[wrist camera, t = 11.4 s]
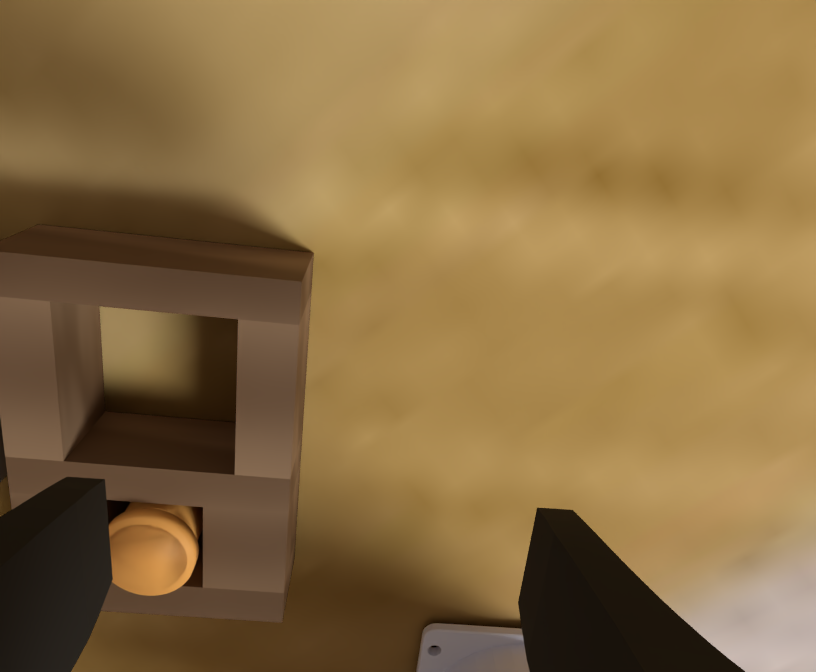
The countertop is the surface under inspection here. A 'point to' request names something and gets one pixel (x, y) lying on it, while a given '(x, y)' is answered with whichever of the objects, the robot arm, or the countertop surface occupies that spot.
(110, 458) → the socket block
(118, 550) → the pin
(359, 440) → the countertop surface
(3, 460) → the grey square frame
